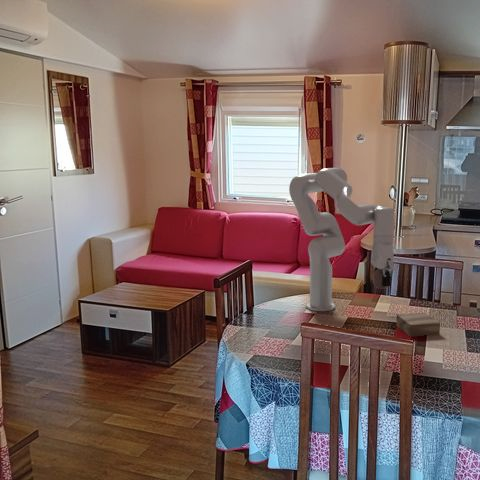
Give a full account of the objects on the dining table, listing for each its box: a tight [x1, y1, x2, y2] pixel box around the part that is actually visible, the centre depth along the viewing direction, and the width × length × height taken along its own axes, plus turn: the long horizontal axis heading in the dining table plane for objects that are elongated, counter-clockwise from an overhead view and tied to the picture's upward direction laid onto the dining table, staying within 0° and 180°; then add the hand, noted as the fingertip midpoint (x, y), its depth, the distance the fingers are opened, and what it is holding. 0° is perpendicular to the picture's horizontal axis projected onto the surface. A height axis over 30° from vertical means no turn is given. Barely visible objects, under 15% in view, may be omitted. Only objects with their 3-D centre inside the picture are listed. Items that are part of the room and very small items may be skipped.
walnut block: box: [395, 312, 441, 338], centre depth 212 cm, size 12×12×5 cm
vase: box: [372, 267, 389, 290], centre depth 212 cm, size 7×7×9 cm
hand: (381, 283), depth 212 cm, fingers closed on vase, 6 cm apart
